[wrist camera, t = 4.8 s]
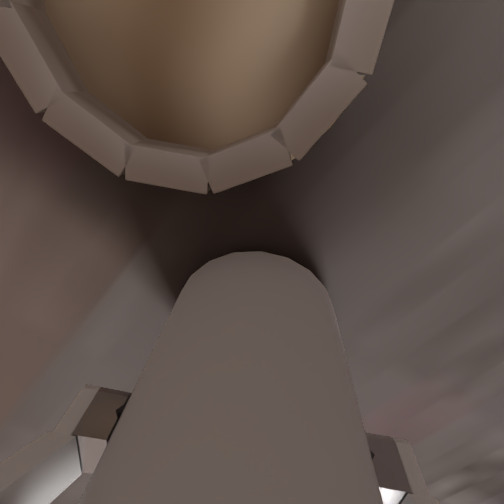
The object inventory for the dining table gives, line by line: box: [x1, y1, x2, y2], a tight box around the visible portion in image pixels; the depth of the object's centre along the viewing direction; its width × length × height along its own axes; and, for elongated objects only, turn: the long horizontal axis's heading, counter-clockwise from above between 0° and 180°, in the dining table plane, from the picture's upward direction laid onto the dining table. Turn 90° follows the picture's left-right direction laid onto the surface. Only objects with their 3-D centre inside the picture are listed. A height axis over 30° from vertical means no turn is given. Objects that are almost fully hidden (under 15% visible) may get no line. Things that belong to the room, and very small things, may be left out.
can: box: [78, 251, 383, 504], centre depth 11 cm, size 8×8×12 cm
